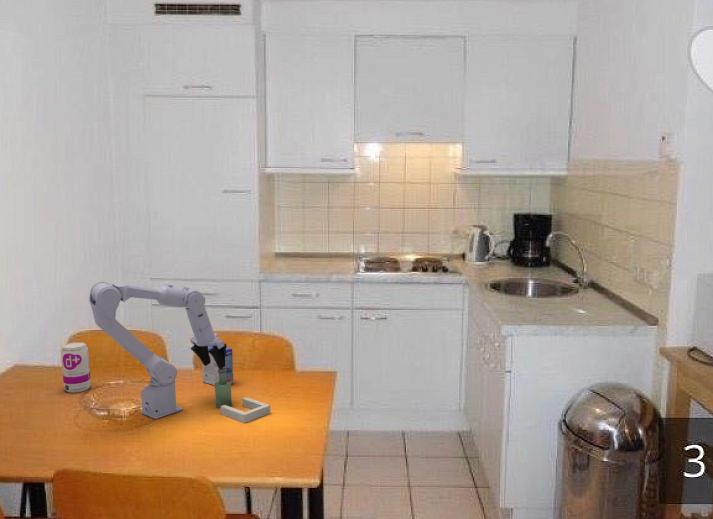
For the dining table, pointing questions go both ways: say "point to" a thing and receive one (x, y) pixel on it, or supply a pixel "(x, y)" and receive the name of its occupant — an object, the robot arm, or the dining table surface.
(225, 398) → the bottle
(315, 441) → the dining table surface
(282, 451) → the dining table surface
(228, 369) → the ink cartridge box
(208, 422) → the dining table surface
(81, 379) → the supplement can
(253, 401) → the rest
